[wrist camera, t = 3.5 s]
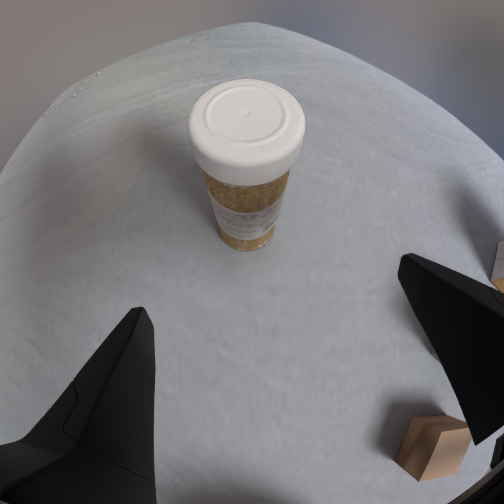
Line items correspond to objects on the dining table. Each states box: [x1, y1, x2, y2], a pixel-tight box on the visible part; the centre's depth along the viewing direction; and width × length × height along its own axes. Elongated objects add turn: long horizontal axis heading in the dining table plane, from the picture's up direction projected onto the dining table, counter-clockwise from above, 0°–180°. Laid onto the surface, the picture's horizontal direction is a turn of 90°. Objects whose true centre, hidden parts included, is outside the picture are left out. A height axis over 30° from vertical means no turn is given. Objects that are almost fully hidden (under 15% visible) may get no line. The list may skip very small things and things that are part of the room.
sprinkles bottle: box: [187, 79, 305, 251], centre depth 16 cm, size 5×5×14 cm
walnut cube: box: [395, 415, 472, 482], centre depth 16 cm, size 5×5×5 cm
